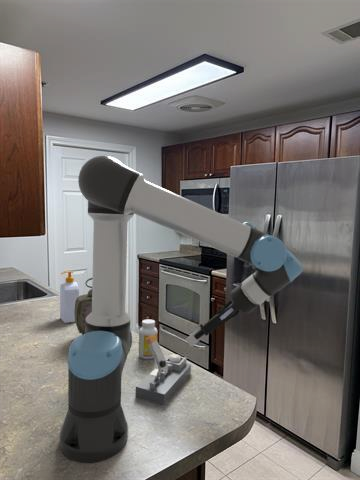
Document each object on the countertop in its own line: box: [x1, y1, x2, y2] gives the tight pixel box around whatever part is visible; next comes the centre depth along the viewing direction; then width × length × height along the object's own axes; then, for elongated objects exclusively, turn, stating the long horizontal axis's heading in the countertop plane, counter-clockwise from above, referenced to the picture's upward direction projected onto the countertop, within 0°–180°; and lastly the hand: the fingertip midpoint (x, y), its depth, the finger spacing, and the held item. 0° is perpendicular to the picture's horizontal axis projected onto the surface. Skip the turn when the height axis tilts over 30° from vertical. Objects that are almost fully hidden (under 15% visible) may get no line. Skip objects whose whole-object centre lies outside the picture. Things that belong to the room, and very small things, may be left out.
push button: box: [168, 353, 182, 363], centre depth 110 cm, size 4×4×2 cm
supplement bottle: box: [138, 318, 159, 360], centre depth 123 cm, size 7×7×13 cm
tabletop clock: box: [74, 277, 93, 335], centre depth 137 cm, size 14×9×25 cm, turn 114°
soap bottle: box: [59, 270, 80, 324], centre depth 158 cm, size 9×7×23 cm
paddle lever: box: [145, 334, 170, 375], centre depth 104 cm, size 2×4×12 cm, turn 158°
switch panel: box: [135, 354, 192, 406], centre depth 104 cm, size 9×20×5 cm, turn 157°
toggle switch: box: [154, 360, 166, 385], centre depth 97 cm, size 2×2×8 cm
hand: (189, 342), depth 100 cm, fingers closed
